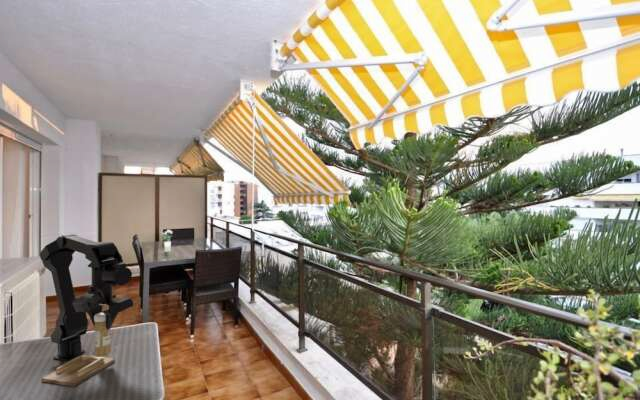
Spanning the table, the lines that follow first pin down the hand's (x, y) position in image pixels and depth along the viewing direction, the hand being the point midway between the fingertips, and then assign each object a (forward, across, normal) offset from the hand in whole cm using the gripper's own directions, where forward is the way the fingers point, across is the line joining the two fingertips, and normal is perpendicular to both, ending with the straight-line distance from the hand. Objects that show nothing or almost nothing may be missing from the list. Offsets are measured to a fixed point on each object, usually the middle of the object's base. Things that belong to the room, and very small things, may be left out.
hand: (102, 328), depth 102 cm
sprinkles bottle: (+9, 0, 0) cm, 9 cm away
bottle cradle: (+13, -5, -4) cm, 14 cm away
